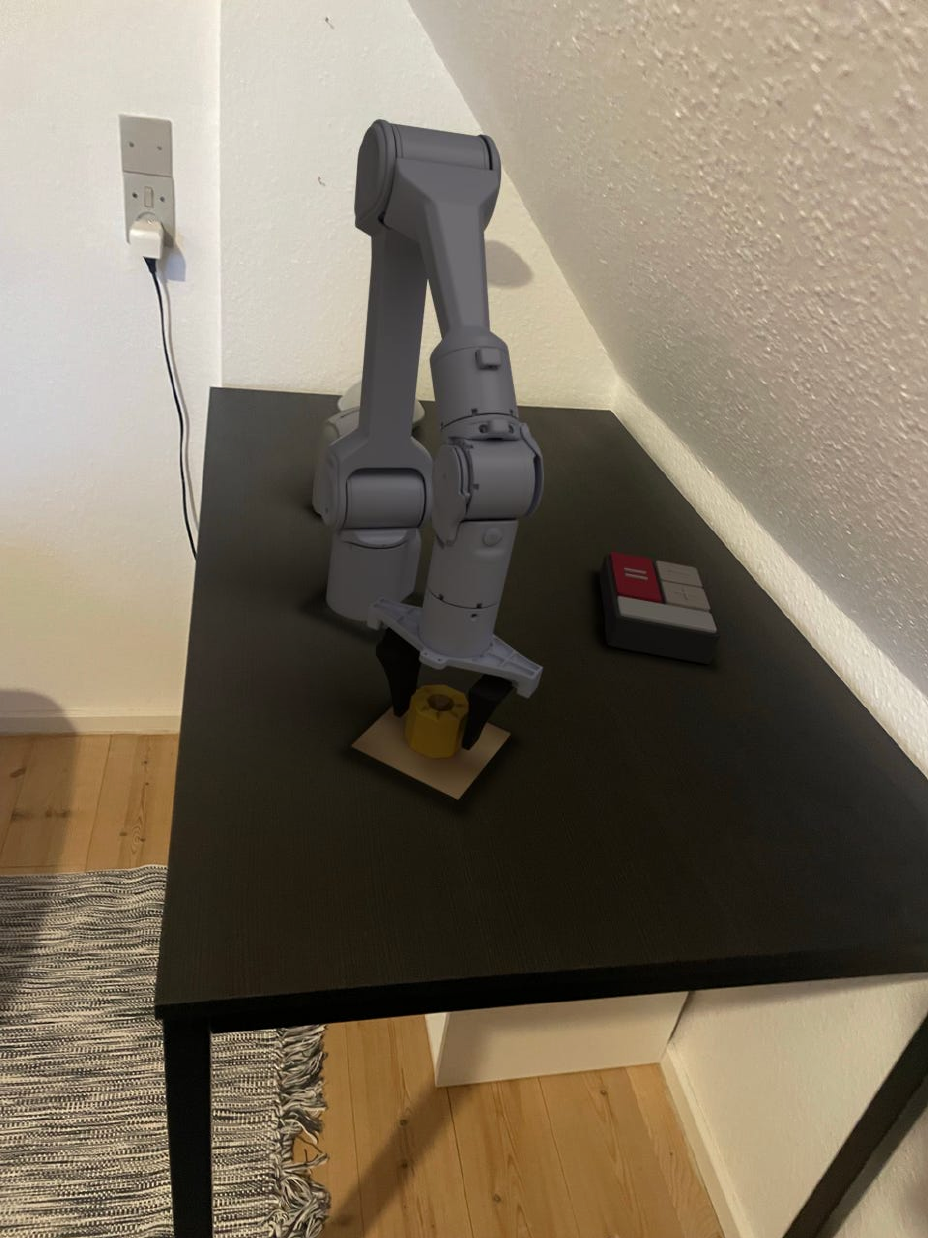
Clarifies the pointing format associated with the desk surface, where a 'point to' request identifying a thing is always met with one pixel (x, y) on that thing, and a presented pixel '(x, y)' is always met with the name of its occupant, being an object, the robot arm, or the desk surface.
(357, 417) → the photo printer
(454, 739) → the sleeve
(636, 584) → the calculator
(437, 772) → the stand
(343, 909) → the desk surface
